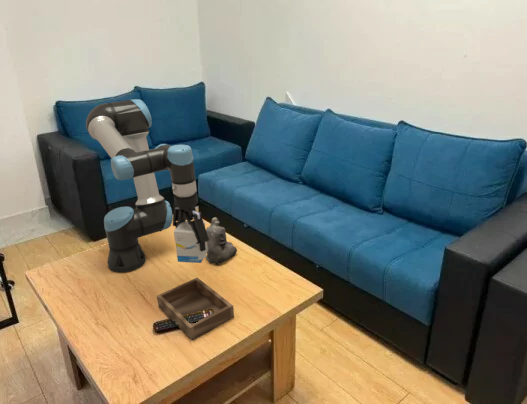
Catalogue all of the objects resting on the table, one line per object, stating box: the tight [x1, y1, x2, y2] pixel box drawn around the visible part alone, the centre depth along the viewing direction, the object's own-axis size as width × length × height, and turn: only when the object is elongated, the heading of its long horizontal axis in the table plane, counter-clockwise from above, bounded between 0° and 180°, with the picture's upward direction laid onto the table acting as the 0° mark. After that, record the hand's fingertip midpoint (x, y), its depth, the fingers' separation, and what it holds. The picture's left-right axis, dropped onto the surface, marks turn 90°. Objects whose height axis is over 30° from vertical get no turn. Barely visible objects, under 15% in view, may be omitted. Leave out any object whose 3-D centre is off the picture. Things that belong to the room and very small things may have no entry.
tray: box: [156, 277, 235, 342], centre depth 147 cm, size 22×16×5 cm
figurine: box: [205, 216, 238, 265], centre depth 176 cm, size 13×12×18 cm
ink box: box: [173, 220, 208, 264], centre depth 147 cm, size 9×8×12 cm
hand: (192, 252), depth 148 cm, fingers closed on ink box, 11 cm apart
